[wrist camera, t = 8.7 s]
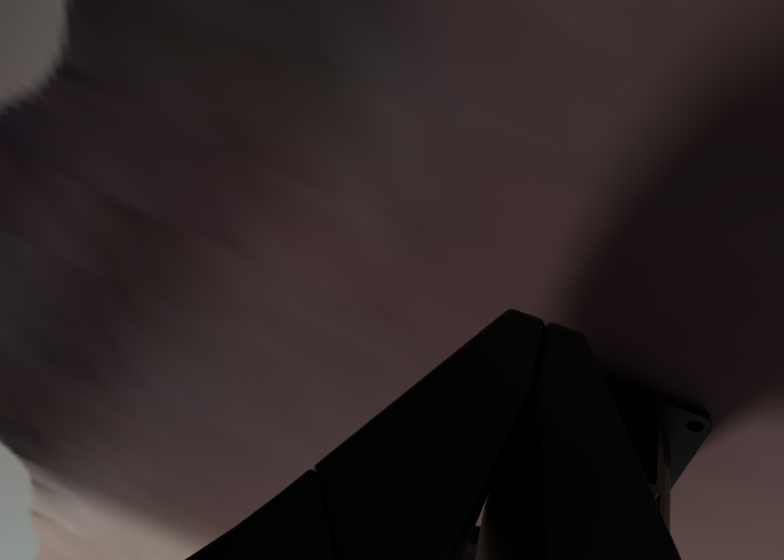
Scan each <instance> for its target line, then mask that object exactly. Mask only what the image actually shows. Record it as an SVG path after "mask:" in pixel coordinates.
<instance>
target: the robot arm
mask: <svg viewBox="0 0 784 560" xmlns="http://www.w3.org/2000/svg"><path fill="white" fill-rule="evenodd" d="M690 421H699V422H700V423H697V424H695V423H691V422H690ZM711 428H712V423H711V416H710V414H709V413H708V412H707V411H706V410H704V409H702V408H700V407H697V406H694V405H691V404H688V403H685V402H683V401H680V400H677V399H674V398H671V397H668V396H665V395H662V394H660V393H657V392H654V391H651V390H648V389H645V388H642V387H640V386H637V385H634V384H631V383H628V382H625V381H622V380H619V379H617V378H614V377H611V376H608V375H605V374H602V373H601V371H600V369H599V366H598V364H597V362H596V359H595V357H594V355H593V352H592V350H591V348H590V345H589V343H588V341H587V338H586V336H585V335H584V334H583V333H581V332H579V331H576V330H573V329H571V328H568V327H565V326H562V325H559V324H556V323H552V322H551V323H548V324H546V325H544V321H543V320H542V319H540V318H538V317H535V316H532V315H529V314H526V313H523V312H521V311H518V310H514V309H509V310H507V311H505V312H504V313H503V314H501V315H500V316H499V317H498V318H497V319H495V320H494V321H493V322H492V323H490V324H489V325H488V326H487V327H485V328H484V329H483V330H482V331H480V332H479V333H478V334H477V335H475V336H474V337H473V338H472V339H471V340H469V341H468V342H467V343H466V344H464V345H463V346H462V347H461V348H459V349H458V350H457V351H456V352H454V353H453V354H452V355H451V356H449V357H448V358H447V359H446V360H444V361H443V362H442V363H441V364H440V365H438V366H437V367H436V368H435V369H433V370H432V371H431V372H430V373H428V374H427V375H426V376H425V377H423V378H422V379H421V380H420V381H418V382H417V383H416V384H415V385H414V386H412V387H411V388H410V389H409V390H407V391H406V392H405V393H404V394H402V395H401V396H400V397H399V398H397V399H396V400H395V401H394V402H392V403H391V404H390V405H389V406H387V407H386V408H385V409H384V410H383V411H381V412H380V413H379V414H378V415H376V416H375V417H374V418H373V419H371V420H370V421H369V422H368V423H366V424H365V425H364V426H363V427H361V428H360V429H359V430H358V431H357V432H355V433H354V434H353V435H352V436H350V437H349V438H348V439H347V440H345V441H344V442H343V443H342V444H340V445H339V446H338V447H337V448H335V449H334V450H333V451H332V452H330V453H329V454H328V455H327V456H326V457H324V458H323V459H322V460H321V461H319V462H318V463H317V464H316V465H315V467H314V470H312V469H310V470H308V471H306V472H305V473H304V474H303V475H301V476H300V477H299V478H298V479H296V480H295V481H294V482H293V483H292V484H290V485H289V486H288V487H287V488H285V489H284V490H283V491H282V492H280V493H279V494H278V495H276V496H275V497H274V498H272V499H271V500H270V501H268V502H267V503H266V504H264V505H263V506H262V507H260V508H259V509H258V510H256V511H255V512H254V513H252V514H251V515H250V516H248V517H247V518H246V519H244V520H243V521H242V522H240V523H239V524H238V525H236V526H235V527H234V528H232V529H231V530H229V531H228V532H226V533H225V534H223V535H222V536H220V537H219V538H217V539H215V540H214V541H212V542H211V543H209V544H208V545H206V546H205V547H203V548H202V549H200V550H199V551H197V552H196V553H194V554H193V555H191V556H190V557H188V558H187V559H185V560H681V557H680V555H679V553H678V550H677V548H676V546H675V543H674V541H673V539H672V536H671V534H670V491H671V488H672V487H673V485H674V484H675V483H676V481H677V480H678V478H679V477H680V475H681V474H682V472H683V471H684V469H685V468H686V467H687V465H688V464H689V462H690V461H691V459H692V458H693V456H694V455H695V453H696V452H697V451H698V449H699V448H700V446H701V445H702V443H703V442H704V440H705V439H706V437H707V436H708V434H709V433H710V431H711ZM486 499H487V500H486ZM485 501H486V504H485V507H484V512H483V517H482V522H481V527H480V526H475V525H476V522H477V520H478V518H479V515H480V513H481V510H482V508H483V506H484V503H485Z"/></svg>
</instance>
